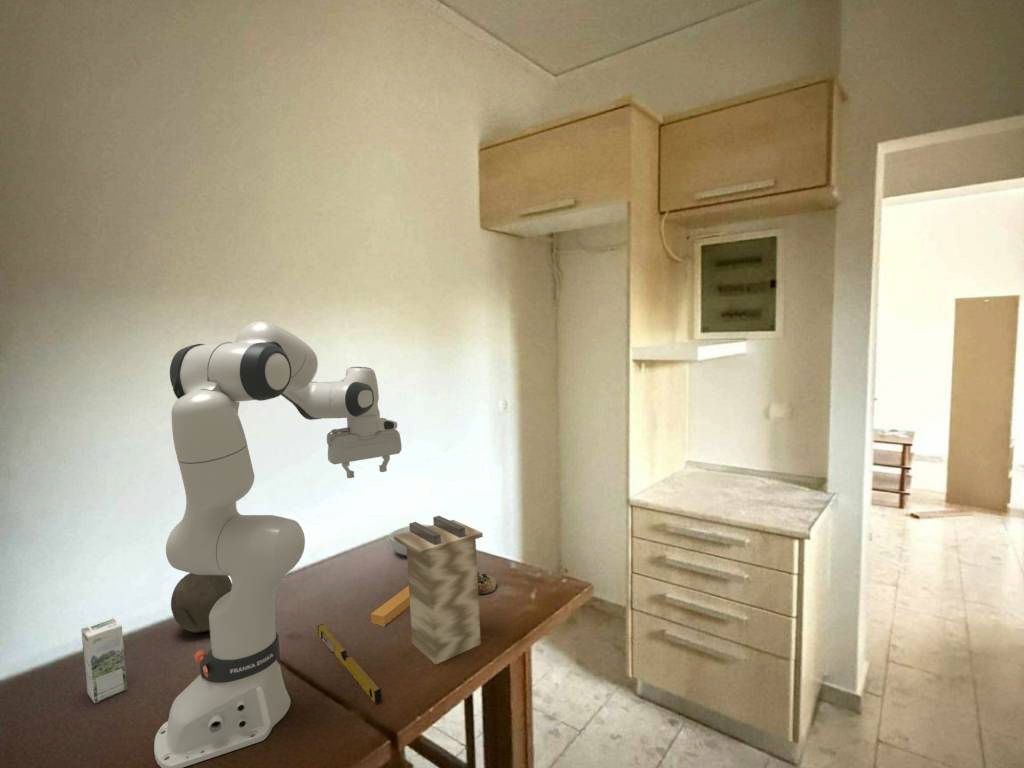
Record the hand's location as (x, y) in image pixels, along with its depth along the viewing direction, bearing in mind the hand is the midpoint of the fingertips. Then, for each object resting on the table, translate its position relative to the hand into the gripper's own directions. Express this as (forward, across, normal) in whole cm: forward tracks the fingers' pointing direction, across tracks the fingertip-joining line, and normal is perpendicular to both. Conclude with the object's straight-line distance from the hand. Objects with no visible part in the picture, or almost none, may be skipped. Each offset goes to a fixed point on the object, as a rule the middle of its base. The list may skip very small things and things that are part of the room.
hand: (367, 474), depth 146 cm
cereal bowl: (+35, +24, +22) cm, 48 cm away
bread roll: (+36, +25, -15) cm, 46 cm away
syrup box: (+35, -60, -2) cm, 70 cm away
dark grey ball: (+35, -40, +14) cm, 55 cm away
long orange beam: (+36, +3, -10) cm, 37 cm away
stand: (+35, +3, -33) cm, 49 cm away
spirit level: (+36, -18, -27) cm, 48 cm away
